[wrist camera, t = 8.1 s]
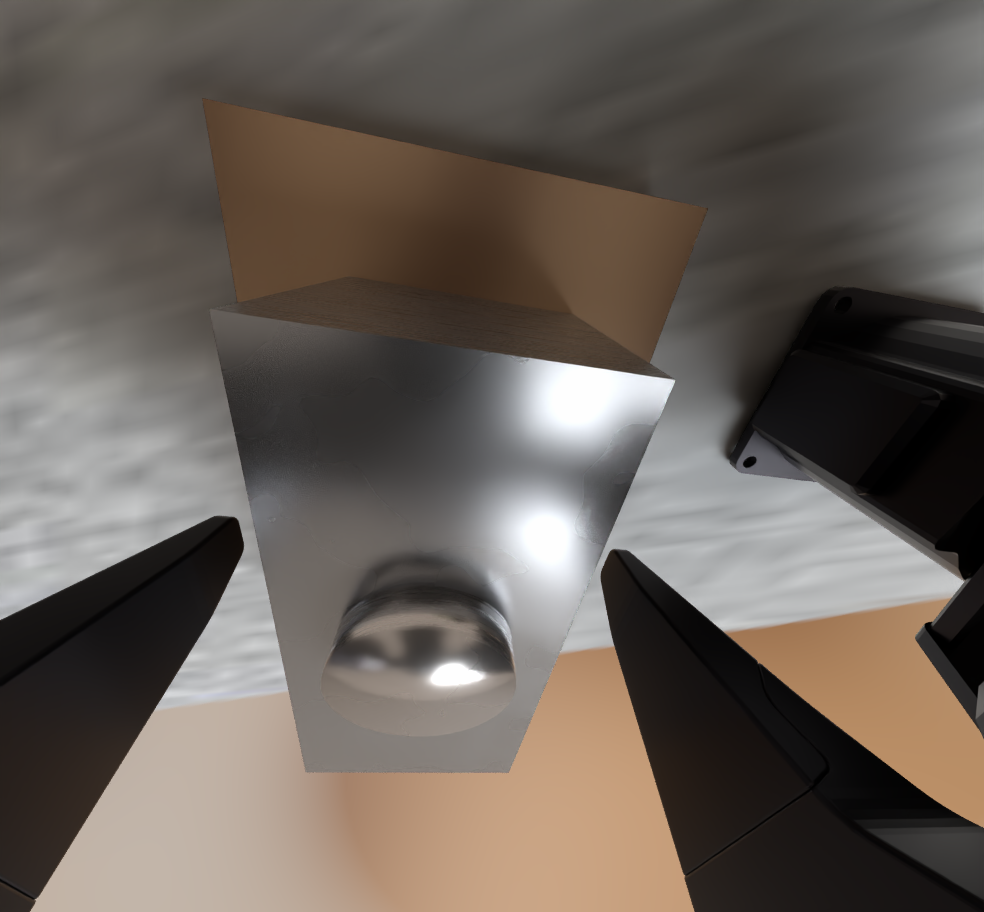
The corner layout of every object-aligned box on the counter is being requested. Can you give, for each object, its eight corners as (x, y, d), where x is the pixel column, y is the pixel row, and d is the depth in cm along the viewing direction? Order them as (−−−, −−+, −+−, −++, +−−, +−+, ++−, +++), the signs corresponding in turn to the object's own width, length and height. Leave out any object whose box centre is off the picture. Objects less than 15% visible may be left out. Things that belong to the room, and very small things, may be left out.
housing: (496, 611, 14) (511, 812, 9) (358, 602, 13) (292, 815, 8) (573, 313, 9) (714, 404, 4) (348, 275, 8) (149, 324, 3)
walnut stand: (656, 216, 10) (708, 208, 8) (531, 602, 18) (540, 651, 16) (268, 135, 9) (202, 98, 6) (318, 588, 16) (295, 640, 14)
